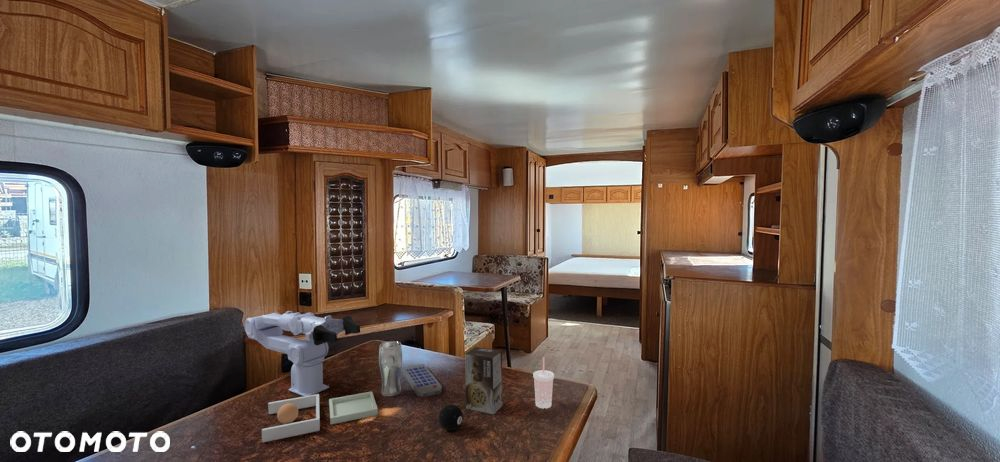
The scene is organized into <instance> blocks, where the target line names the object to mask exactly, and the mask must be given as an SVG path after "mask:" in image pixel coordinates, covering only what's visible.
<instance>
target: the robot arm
mask: <svg viewBox="0 0 1000 462" xmlns="http://www.w3.org/2000/svg"><path fill="white" fill-rule="evenodd" d="M243 328H244V332H245V333H246V336H247V337H248V339H252V340H254V341H255V340H256V341H257V342H258V343H259V344H261V346H263V347H264V348H265V349H267V350H270V351H275V352H278V353H281V354H285V355H287V358H288V361H291V363H292V366H291V369H290V383H291V387H290V388H289V389H288V391H289V392H292V393H294V394H297V395H299V396H301V397H304V396H310V395H315V394H319V393H320V392H323V391H324V390H328V389H329V388H330V386H329V385H326V384H324V377H323V376H324V374H323V373H324V372H323V361H325V357H326V356H328V353H329V343H335V342H337V341H338V335H339V334H341V333H342V332H343V331H344V334H345V336H348V335H351V334H359V333H361V325H359V324H357V323H356V322H355V321H354V319H353V318H352V316H349V315H346V316H343V317H342V319H337V318H336V319H335V318H333V316H332V315H326V316H324V317H319V316H315V314H314V313H313V312H310V311H309V312H306V313H301V312H293V310H288V311H285V313H283V314H279V312H272V313H268V314H263V315H259V316H254V317H247V318H246V319H245V321H244V327H243ZM284 331H287V332H291V334H293V336H297V335H298V336H299V335H301V334H304V335H305V339H303V338H302V339H301V338H297V337H293V336H288V335H286V334H285V335H284Z"/></svg>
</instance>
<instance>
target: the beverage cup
mask: <svg viewBox="0 0 1000 462" xmlns="http://www.w3.org/2000/svg"><path fill="white" fill-rule="evenodd" d="M532 375H533V376H532V378H533V381H534V382H533V383H534V397H535V399H534V401H535V406H536V407H538V408H539V409H544V408H545V409H549V408H551V407H552V402H553V388H554V387H553V386H554V379H555V373H554V372H553V371H550V370H545V356H542V369H539V370H535V371H533V373H532Z"/></svg>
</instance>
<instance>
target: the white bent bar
mask: <svg viewBox="0 0 1000 462" xmlns="http://www.w3.org/2000/svg"><path fill="white" fill-rule="evenodd" d="M287 403H292V404H295V405H296V406H297V408H298V410H300V409H307V408H311V407H315V418H311V419H307V420H306V419H305V420H302V421H296V422H291V423H289V424H280V425H276V426H270V427H266V428H261V443H262V444H263V443H266V442H267V443H268V442H271V441H276V440H282V439H285V438H290V437H291V438H292V437H296V436H301V435H304V434H305V435H306V434H309V433H315V432H319V431H320V429H321V427H320V426H321V423H320V422H321V420H320V414H321V413H320V394H319V393H316V394H313V395H310V396H299V397H294V398H288V399H282V400H276V401H270V402H268V403H267V407H268V415H273V414H277V413H278V410H279V409H280V408H281V407H282V406H283V405H285V404H287Z"/></svg>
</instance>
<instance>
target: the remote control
mask: <svg viewBox="0 0 1000 462" xmlns="http://www.w3.org/2000/svg"><path fill="white" fill-rule="evenodd" d="M401 373H402V374H403V376H404V377H405V378H406V380H407V381H408V383H409V385H410V387H411V388H412V390H413V391H414V393H415V394H416V396H417V397H421V398H424V397H429V396H435V395H438V394H441V393H442V390H443V386H442V384H441V383H440V382H439V381H438V379H437V378H436V377H435V376H434V375H433V373H432V372H431V371H430V370H429V368H428V367H427V366H426V365H425V363H422V364H416V365H409V366H405V367H401Z"/></svg>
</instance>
